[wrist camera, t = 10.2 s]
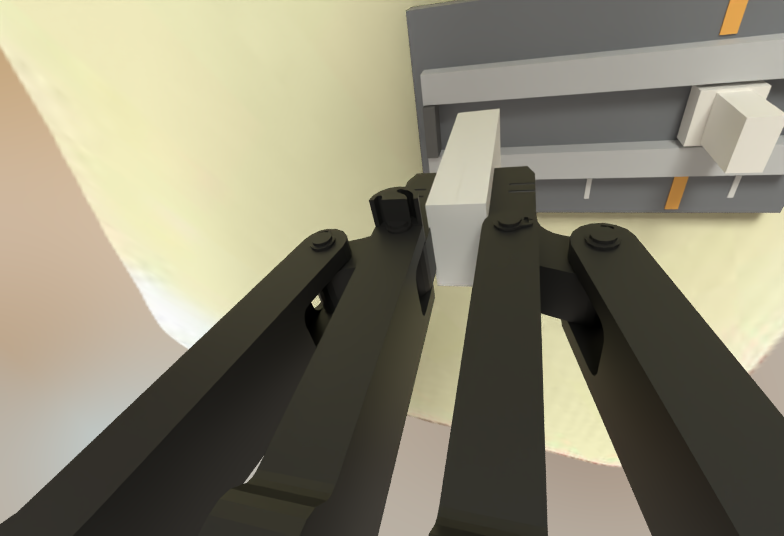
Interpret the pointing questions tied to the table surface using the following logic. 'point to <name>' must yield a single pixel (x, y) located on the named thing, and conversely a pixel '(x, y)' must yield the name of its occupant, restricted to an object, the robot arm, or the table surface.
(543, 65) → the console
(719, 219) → the table surface
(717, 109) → the fader tab
